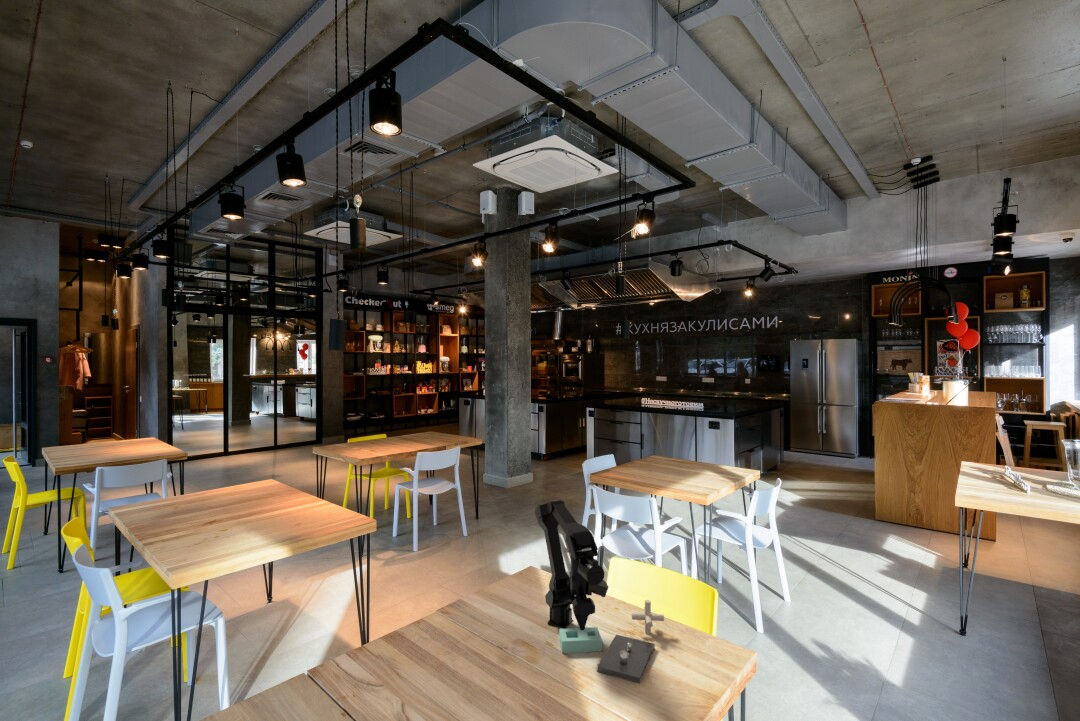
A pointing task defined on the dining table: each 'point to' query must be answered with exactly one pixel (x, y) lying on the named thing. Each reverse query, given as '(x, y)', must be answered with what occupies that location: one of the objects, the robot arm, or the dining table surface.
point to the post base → (633, 658)
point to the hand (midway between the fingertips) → (579, 622)
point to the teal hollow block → (580, 640)
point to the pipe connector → (647, 617)
